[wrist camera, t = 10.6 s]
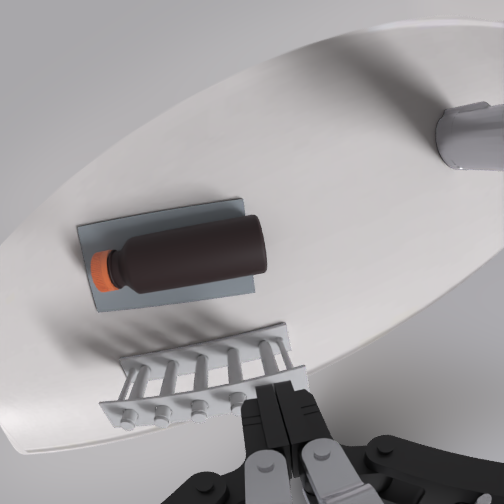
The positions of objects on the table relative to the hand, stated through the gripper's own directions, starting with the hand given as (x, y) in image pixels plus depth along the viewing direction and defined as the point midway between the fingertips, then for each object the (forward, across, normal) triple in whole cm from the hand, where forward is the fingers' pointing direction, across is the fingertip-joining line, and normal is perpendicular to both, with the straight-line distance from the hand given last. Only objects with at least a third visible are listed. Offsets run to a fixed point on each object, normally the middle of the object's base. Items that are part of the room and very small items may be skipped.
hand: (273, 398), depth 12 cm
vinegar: (+24, -3, -2) cm, 24 cm away
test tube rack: (+27, +7, +14) cm, 32 cm away
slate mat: (+27, +9, -1) cm, 29 cm away
